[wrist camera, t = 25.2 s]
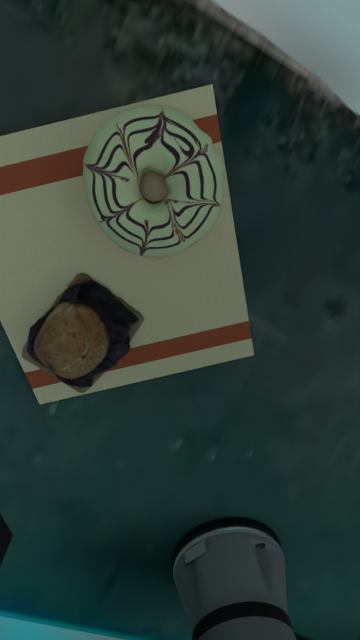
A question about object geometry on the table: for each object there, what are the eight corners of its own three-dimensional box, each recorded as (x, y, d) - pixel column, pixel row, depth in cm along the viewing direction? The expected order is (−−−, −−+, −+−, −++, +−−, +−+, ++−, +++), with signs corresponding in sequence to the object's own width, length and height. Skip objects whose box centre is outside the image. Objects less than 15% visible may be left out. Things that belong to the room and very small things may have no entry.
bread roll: (87, 393, 35) (79, 416, 31) (15, 348, 32) (-2, 367, 29) (152, 321, 32) (151, 337, 29) (78, 265, 30) (68, 275, 26)
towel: (252, 352, 35) (254, 355, 34) (41, 401, 35) (39, 404, 35) (211, 86, 26) (212, 83, 25) (-73, 155, 26) (-79, 155, 26)
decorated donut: (174, 81, 25) (177, 64, 21) (239, 209, 29) (251, 212, 25) (62, 161, 26) (49, 157, 23) (139, 272, 30) (137, 284, 27)
